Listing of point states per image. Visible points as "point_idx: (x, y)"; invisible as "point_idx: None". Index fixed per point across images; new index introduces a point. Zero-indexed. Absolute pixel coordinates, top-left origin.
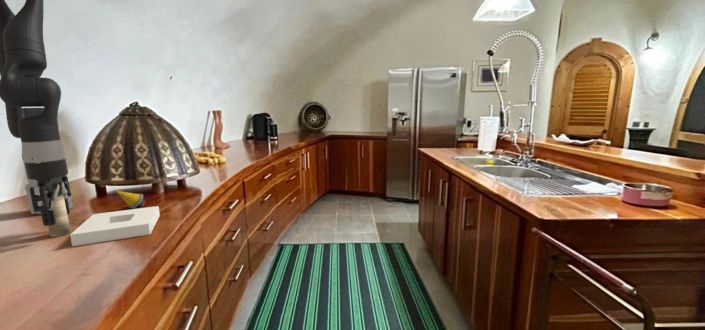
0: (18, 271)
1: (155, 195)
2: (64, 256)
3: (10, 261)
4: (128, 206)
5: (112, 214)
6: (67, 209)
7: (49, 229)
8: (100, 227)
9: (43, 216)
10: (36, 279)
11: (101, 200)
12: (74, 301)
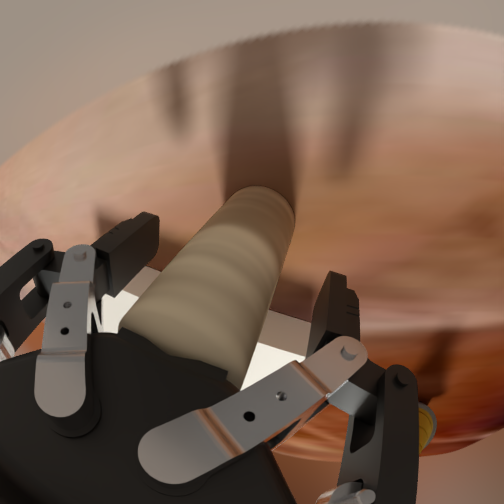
0: (27, 164)
1: (476, 430)
2: (60, 234)
3: (70, 122)
4: (418, 404)
5: (243, 385)
6: (312, 323)
7: (227, 203)
8: (115, 332)
9: (99, 243)
10: (6, 202)
11: None
12: None
